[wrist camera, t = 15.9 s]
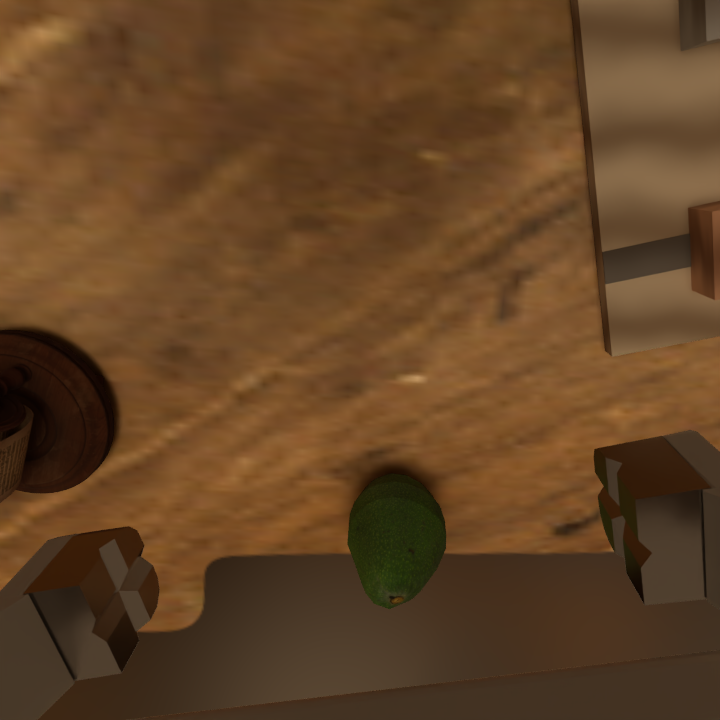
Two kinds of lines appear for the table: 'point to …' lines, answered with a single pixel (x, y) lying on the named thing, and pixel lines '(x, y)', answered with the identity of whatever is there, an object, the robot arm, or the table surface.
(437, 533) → the avocado
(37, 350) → the scroll
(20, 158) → the table surface
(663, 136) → the subfloor panel
